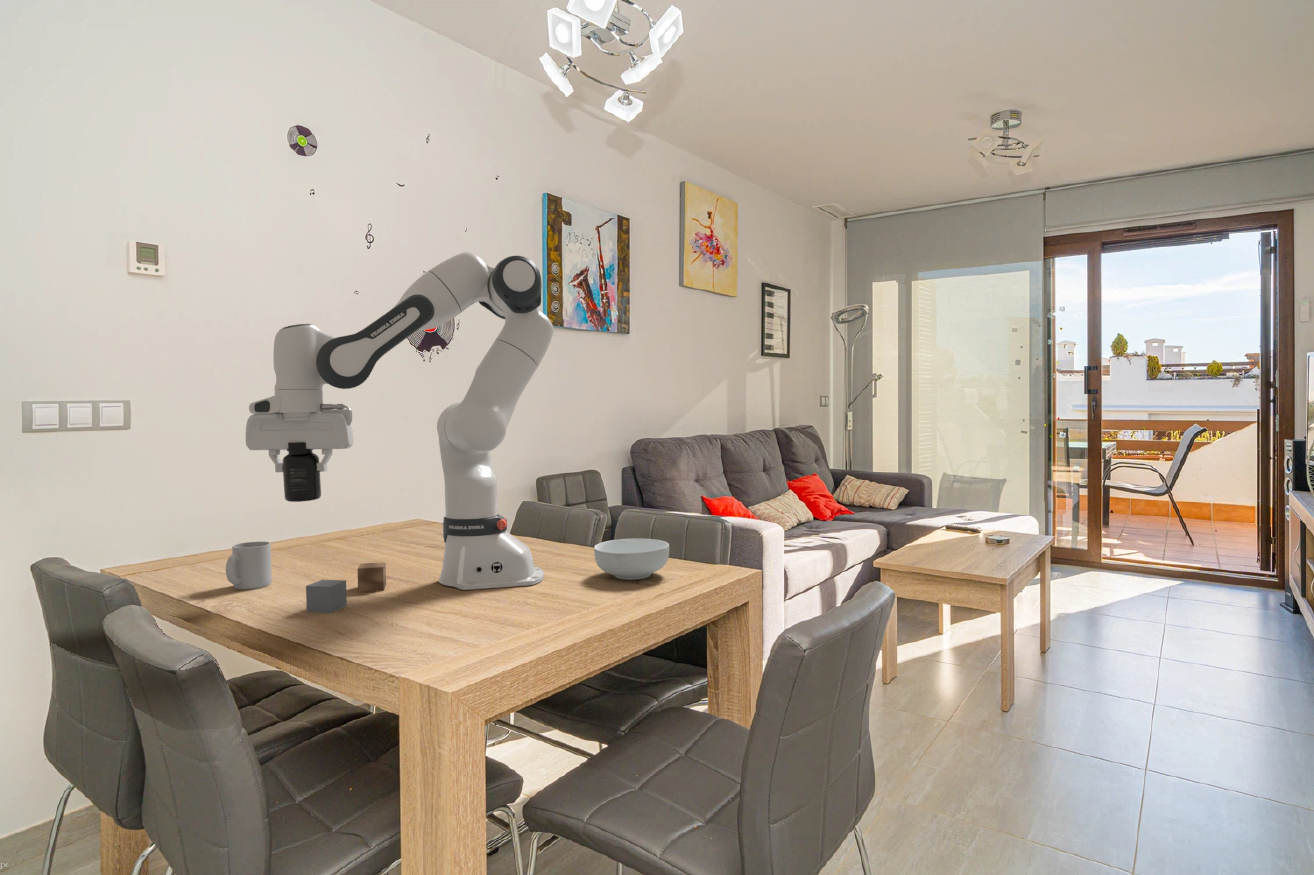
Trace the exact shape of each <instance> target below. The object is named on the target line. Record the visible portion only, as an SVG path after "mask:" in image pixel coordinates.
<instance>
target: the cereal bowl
mask: <svg viewBox="0 0 1314 875" xmlns="http://www.w3.org/2000/svg"><path fill="white" fill-rule="evenodd" d="M593 552H594V560H595V563H596V565H597V566H598V567H599V569H601V571H603V572H604V573H607V574H609V575H612V576H614V577H615V578H617V579H619V580H623V581H624V580H627V581H634V580H635V581H638V580H643V579H647V578H649V577H650V576H651V575H652V574H654V573H655V572H658V571H660V570H661V569H662V568H664V566H665V565H666V564H667V562H668V560H669V557H670V543H668V542H667V541H664V540H660V539H655V538H654V539H652V538H621V539H612V540H607V541H603V542H598V544H597V543H596V544H595V545H594V548H593Z"/></svg>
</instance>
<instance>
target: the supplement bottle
mask: <svg viewBox="0 0 1314 875" xmlns="http://www.w3.org/2000/svg"><path fill="white" fill-rule="evenodd" d="M313 451H315V449H306V442H289V443H288V449H287V450H286V452H288V453H287V454H286V455H285V456H284V457H283V458H282V463H283V472H282V475H283V492H284V500H285V501H286V502H290V503H291V502H292V503H295V502H297V503H298V502H311V501H315V500H319V499H320V498H321V497H322V486H321V484H322V483H321V472H317V463H320V457H319V456H318V454H316V453H314V452H313Z"/></svg>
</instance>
